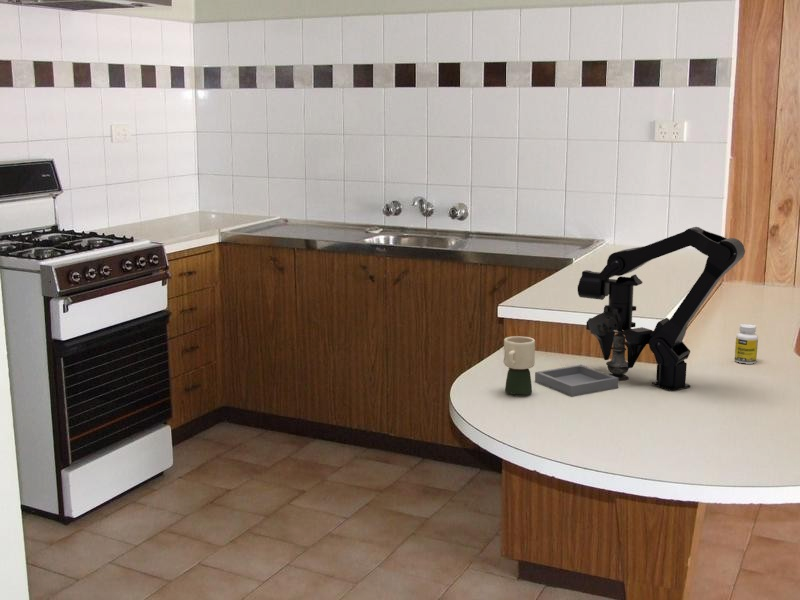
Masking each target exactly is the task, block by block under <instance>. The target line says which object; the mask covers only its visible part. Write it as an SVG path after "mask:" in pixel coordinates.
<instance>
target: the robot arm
mask: <svg viewBox="0 0 800 600" xmlns="http://www.w3.org/2000/svg"><path fill="white" fill-rule="evenodd" d="M688 247H691V248H694V249H695V250H696V251H699V252H700V253H701V254H703V255H705V256H707V259H706V261H705V266H704V269H703V271H702V273H701V274H700V276H699V277H698V278H697V280H696V281H695V283H694V284H693V286H692V287H691V289H689V292H687V294H686V296H685V297H684V299H683V300H682V302H681V303H680V305H679V306H678V308H677V309H676V310H675V312H674V313H673V315H672V316H671V318H668V317H665V318H663V319H661V320H659V321H658V322H656V325H655V327H654V329H649V328H645V327H643V326H642V327H636V322H633V312H635V311H637V306H636V305H634V287H637V286H639V285H642V284H643V280H642V279H640V278H639V277H638V276H637V274H633V275H631V276H630V277H629V276H624V275H627V274H629V273H632V272H634V271H636V270H637V269H639V268H640V267H642V266H644V265H645V264H647V263H649V262H650V261H652V260H654V259H657V258H660V257H662V256H665V255H669V254H672V253H674V252H676V251H679V250H682V249H685V248H688ZM745 252H746V250H745V245H744V244H743V242H742V241H741V240H739V239H737V238H735V237H730V238H727V237H724V236H722V235H719V234H716V233H714V232H710V231H707V230H705V229H704V228H701V227H700V226H693V227H690V228H687V229H685V230H684V231H683V232H680V233H676V234H674V235H671V236H669V237H666V238H663V239H660V240H657V241H655V242H653V243H650V244H647V245H645V246H638V247H631V248H626V249H622V250H619V251H615V252H613V253H611V254H610V255H608V257H607V260H606V265H605V266H604V268H602V270H601V271H599V272H598V271H591V270H587V269H586V270H584V271H581V277H580V278H579V281H578V285H577V294H578V297H579V298H584V299H592V300H593V299H594V300H599V301H600V300H602V301H603V300H604V299H605V298H606V297H608V304H605V305H604V308H603V312H602V313H599V314H597V315H595V316H593V317H589V318H588V320H586V325H585V326H586V327H585V328H586V330H588V331H589V332H590V334H591V335H593V336H594V337H595V338H596V339H597V341H598V344H599V346H600V350H601V353H602V356H603V360H604V361H610V360H609V359H610V356H611V353H612V349H611V348H612V347H613V337H614V335H616V334H618V333H619V334H622V335H624V336H625V342H624V344H625V347H626V350H627V351H626V352H627V362H628V368H629V369H632V368H633V367H634V366H635V364H636V362H637V361H638V358H639V356H640V355H641V353H642V352H643V350H644V349H645V347H646V346H647V345H648V347H649V349H650V351H651V353H653V356H654V358H655V362H656V374H655V375H656V377H655V381H652V382H651V385H652V386H656V387H659V388H661V389H664V390H667V391H676V390H682V389H686V388H687V389H688V388H691V385H690V384H689V383H686V380H687V367H688V366H687V362H685V360H687V359H688V358H689V356H690V355H691V354H690V353H691V350H690V349H689V348H688V347H687V345H686V344H685V343H684V342H683V340H684V337H685V336H686V332H687V329H688V326H689V324H690V323H691V322H692V320H693V318H694V317H695V316H696V314H697V312H698V311H699V310H700V308H701V307H702V305H704V303H705V301H706V300H707V299H708V297H709V296H710V294H711V293H712V292H713V289H714V288H715V287H716V286H717V284H718V283H719V281H720V280H721V279H722V278H723V277H724V276H725V275H726V274H727V273H728V272H730V271H731V270H732V269H733V268H734V267H735V266H736V265H737V264H738V263H740V261H741V260H742V259H743V258H744V256H745ZM614 277H618V278H617V279H614Z"/></svg>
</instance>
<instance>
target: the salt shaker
mask: <svg viewBox="0 0 800 600" xmlns="http://www.w3.org/2000/svg"><path fill="white" fill-rule="evenodd" d="M624 342H626V339H625V335H622V334H619V333H615V335H614V337H613V344H612V348H611V353H612V356H611V359H610V360H607V361H606V363H605V364H606V365H607V367H606V368H607V370H608V372H609V375H611V376H614V377H617V378H619V379H618V382H619V381H622V382H623V381H627V380H629V379H630V377H629V376H628V375H626V374H627V372H628V371H629V369H630V368H628V361H626V353H625V352H626V350H627V347H626V345H625V344H624Z"/></svg>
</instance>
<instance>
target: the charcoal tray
mask: <svg viewBox="0 0 800 600" xmlns="http://www.w3.org/2000/svg"><path fill="white" fill-rule="evenodd" d="M534 373H535V374H534V383H536V384H539V385H542V386H544V387H546V388H548V389H551V390H554V391H556V392H559V393H561V394H563V395H566V396H569V397H571V398H572V397H577V396H583V395H588V394H593V393H599V392H603V391H610V390H611V391H612V390H616V389H618V388H619V381H618V379H619V378H617V377H614V376H611V375H609V374H610V373H609V374H608V373H606V372H603V371H600V370H597V369H595V368H592V367H588V366H587V365H586V366H585V365H583V364H577V365H571V366H565V367H557V368H552V369H546V370H540V371H535V372H534Z"/></svg>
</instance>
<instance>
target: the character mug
mask: <svg viewBox="0 0 800 600" xmlns="http://www.w3.org/2000/svg"><path fill="white" fill-rule="evenodd" d="M503 350H504V354H503V355H504V357H503V365H504V366H505V367H506V368H508V370H507V373H506V374H507V375H506V379H505V388H504V392H505V393H507V394H514V395H515V396H517V395H530V394H532V393H533V389H532V387H533V386H532V379H531V378H532V376H531V371H530V369H532V368H534V367H535V364H536V363H535V361H536V360H535V357H536V356H535V355H536V340H535V339H534V338H532V337H529V336H518V335H516V336H515V335H514V336H506V337H505V338H504V339H503Z"/></svg>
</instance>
